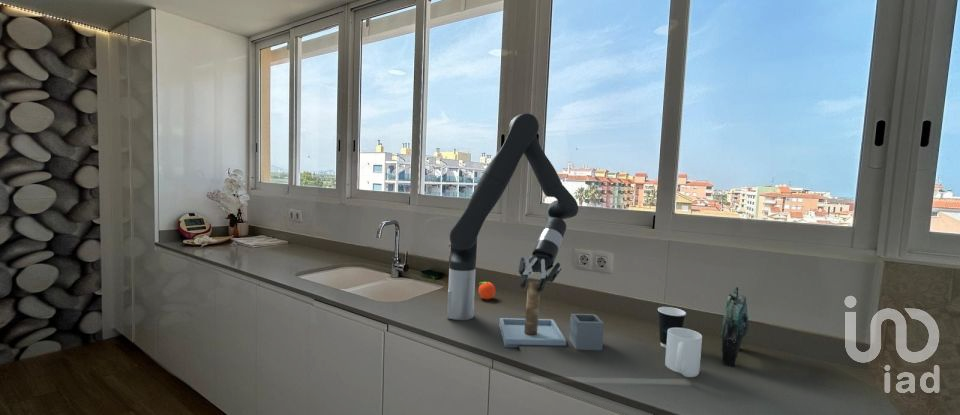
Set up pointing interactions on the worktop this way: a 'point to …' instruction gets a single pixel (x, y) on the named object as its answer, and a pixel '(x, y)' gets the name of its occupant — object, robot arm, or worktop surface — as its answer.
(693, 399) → the worktop surface
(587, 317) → the light blue hollow box
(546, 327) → the tray
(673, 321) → the dixie cup
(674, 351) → the mug
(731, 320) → the dark green tall piece
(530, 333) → the pin
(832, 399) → the worktop surface
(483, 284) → the clementine
